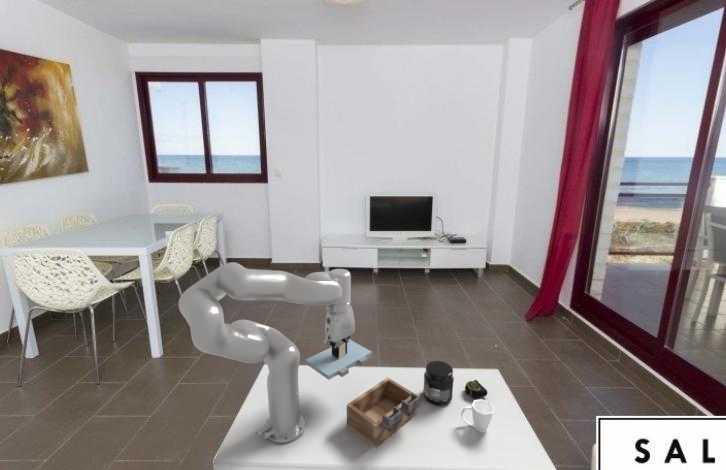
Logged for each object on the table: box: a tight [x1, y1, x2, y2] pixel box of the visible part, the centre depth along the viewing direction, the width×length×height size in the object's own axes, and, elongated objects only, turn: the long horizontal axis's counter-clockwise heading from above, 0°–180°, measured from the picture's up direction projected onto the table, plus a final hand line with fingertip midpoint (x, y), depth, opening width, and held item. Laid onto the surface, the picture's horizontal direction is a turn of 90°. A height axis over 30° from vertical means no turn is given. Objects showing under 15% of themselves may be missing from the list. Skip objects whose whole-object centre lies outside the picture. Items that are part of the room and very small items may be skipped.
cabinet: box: [346, 377, 421, 449], centre depth 118 cm, size 20×16×10 cm
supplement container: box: [422, 360, 455, 407], centre depth 130 cm, size 10×10×12 cm
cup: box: [460, 398, 495, 433], centre depth 116 cm, size 7×10×8 cm
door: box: [305, 338, 373, 381], centre depth 124 cm, size 20×14×6 cm
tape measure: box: [464, 379, 488, 400], centre depth 132 cm, size 7×7×4 cm
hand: (339, 353), depth 125 cm, fingers closed on door, 3 cm apart
